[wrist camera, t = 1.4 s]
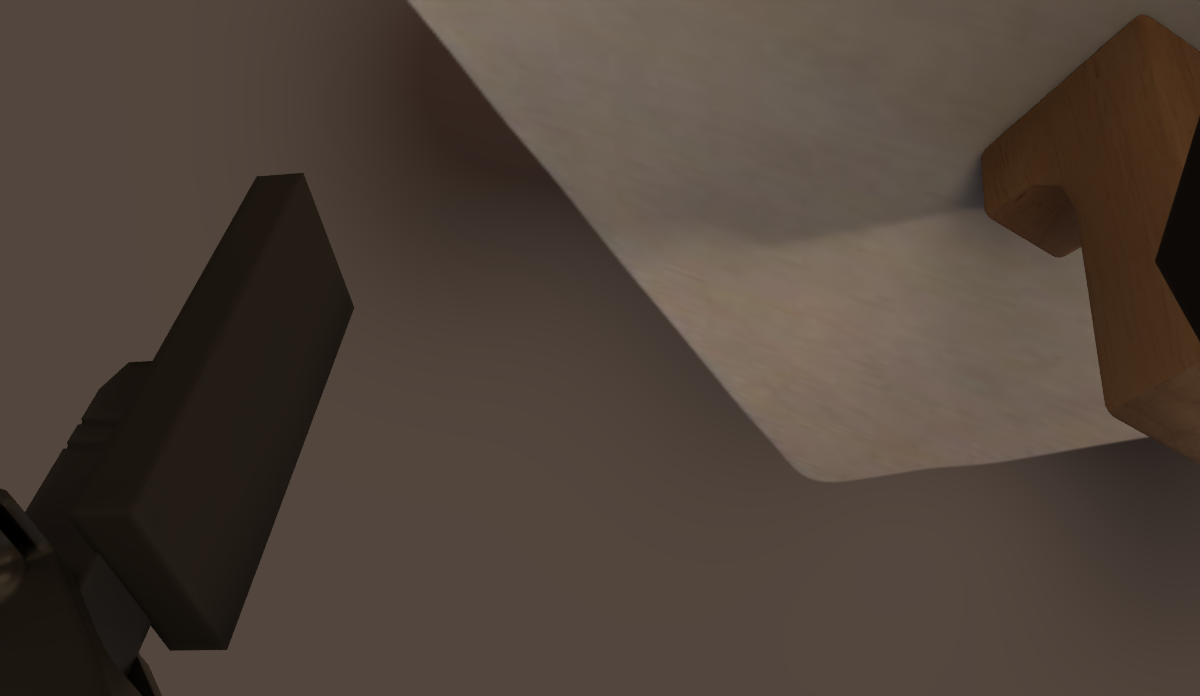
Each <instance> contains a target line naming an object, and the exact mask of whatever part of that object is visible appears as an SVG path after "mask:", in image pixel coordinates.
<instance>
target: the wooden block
mask: <svg viewBox="0 0 1200 696" xmlns="http://www.w3.org/2000/svg"><path fill="white" fill-rule="evenodd" d="M1199 116H1200V51H1198V50H1197V49H1196V48H1194V47H1193V46H1191V45H1190V44H1188V43H1187V42H1185V41H1184V40H1183V39H1181V38H1180V37H1178V36H1177V35H1175V34H1174V33H1172V32H1171V31H1170V30H1168V29H1167V28H1165V27H1164V26H1162V25H1161V24H1160V23H1158V22H1157V21H1155V20H1154V19H1152V18H1151V17H1149V16H1146V15H1140V16H1138V17H1136V18H1135V19H1134V20H1133V21H1131V22H1130V23H1129V24H1128V25H1127V26H1126V27H1125V28H1123V29H1122V30H1121V31H1120V32H1119V33H1118V34H1117V35H1115V36H1114V37H1113V38H1112V39H1111V40H1110V41H1109V42H1107V43H1106V44H1105V45H1104V46H1103V47H1102V48H1101V49H1099V50H1098V51H1097V52H1096V53H1095V54H1094V55H1093V56H1091V57H1090V58H1089V59H1088V60H1087V61H1086V62H1085V63H1083V64H1082V65H1081V66H1080V67H1079V68H1078V69H1077V70H1075V71H1074V72H1073V73H1072V74H1071V75H1070V76H1069V77H1068V78H1066V79H1065V80H1064V81H1063V82H1062V83H1061V84H1060V85H1058V86H1057V87H1056V88H1055V89H1054V90H1053V91H1052V92H1050V93H1049V94H1048V95H1047V96H1046V97H1045V98H1044V99H1042V100H1041V101H1040V102H1039V103H1038V104H1037V105H1036V106H1034V107H1033V108H1032V109H1031V110H1030V111H1029V112H1028V113H1026V114H1025V115H1024V116H1023V117H1022V118H1021V119H1020V120H1018V121H1017V122H1016V123H1015V124H1014V125H1013V126H1012V127H1010V128H1009V129H1008V130H1007V131H1006V132H1005V133H1004V134H1002V135H1001V136H1000V137H999V138H998V139H997V140H996V141H994V142H993V143H992V144H991V145H990V146H989V147H988V148H986V149H985V151H984V153H983V155H982V157H981V160H982V176H983V192H984V208H985V212H986V214H987V215H988V216H989V218H991V219H992V220H994V221H996V222H997V223H999V224H1001V225H1002V226H1004V227H1006V228H1007V229H1009V230H1011V231H1012V232H1014V233H1016V234H1017V235H1019V236H1021V237H1022V238H1024V239H1026V240H1027V241H1029V242H1031V243H1032V244H1034V245H1036V246H1037V247H1039V248H1041V249H1042V250H1044V251H1046V252H1047V253H1049V254H1051V255H1052V256H1054V257H1059V258H1060V257H1064V256H1066V255H1068V254H1070V253H1071V252H1073V251H1075V250H1077V249H1079V248H1081V247H1082V253H1083V260H1084V266H1085V273H1086V280H1087V286H1088V293H1089V300H1090V307H1091V313H1092V320H1093V327H1094V334H1095V340H1096V347H1097V354H1098V360H1099V367H1100V374H1101V381H1102V387H1103V394H1104V401H1105V406H1106V408H1107V410H1108V411H1109V412H1110V414H1111V415H1112V416H1113V417H1115V418H1117V419H1118V420H1120V421H1122V422H1124V423H1125V424H1127V425H1129V426H1131V427H1133V428H1134V429H1136V430H1138V431H1140V432H1142V433H1143V434H1145V435H1147V436H1149V437H1151V438H1152V439H1154V440H1156V441H1158V442H1160V443H1161V444H1163V445H1165V446H1167V447H1169V448H1170V449H1172V450H1174V451H1176V452H1178V453H1179V454H1181V455H1183V456H1185V457H1187V458H1188V459H1190V460H1192V461H1194V462H1195V463H1199V464H1200V342H1199V340H1198V338H1197V336H1196V335H1195V333H1194V331H1193V329H1192V327H1191V326H1190V324H1189V322H1188V320H1187V318H1186V317H1185V315H1184V313H1183V311H1182V310H1181V308H1180V306H1179V304H1178V302H1177V301H1176V299H1175V297H1174V295H1173V293H1172V292H1171V290H1170V288H1169V286H1168V284H1167V283H1166V281H1165V279H1164V277H1163V275H1162V274H1161V272H1160V270H1159V268H1158V267H1157V265H1156V263H1155V259H1156V256H1157V253H1158V249H1159V246H1160V243H1161V240H1162V236H1163V233H1164V230H1165V227H1166V223H1167V220H1168V217H1169V214H1170V210H1171V207H1172V204H1173V201H1174V197H1175V194H1176V191H1177V188H1178V184H1179V181H1180V178H1181V175H1182V171H1183V168H1184V165H1185V162H1186V158H1187V155H1188V152H1189V149H1190V145H1191V142H1192V139H1193V136H1194V132H1195V129H1196V126H1197V123H1198V120H1199Z"/></svg>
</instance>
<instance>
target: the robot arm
mask: <svg viewBox="0 0 1200 696" xmlns="http://www.w3.org/2000/svg"><path fill="white" fill-rule="evenodd" d="M1155 263H1156V265H1157V267H1158V268H1159V270H1160V272H1161V274H1162V275H1163V277H1164V279H1165V281H1166V283H1167V284H1168V286H1169V288H1170V290H1171V292H1172V293H1173V295H1174V297H1175V299H1176V301H1177V302H1178V304H1179V306H1180V308H1181V310H1182V311H1183V313H1184V315H1185V317H1186V318H1187V320H1188V322H1189V324H1190V326H1191V327H1192V329H1193V331H1194V333H1195V335H1196V336H1197V338H1198V340H1199V342H1200V116H1199V120H1198V123H1197V126H1196V129H1195V132H1194V136H1193V139H1192V142H1191V145H1190V149H1189V152H1188V155H1187V158H1186V162H1185V165H1184V168H1183V171H1182V175H1181V178H1180V181H1179V184H1178V188H1177V191H1176V194H1175V197H1174V201H1173V204H1172V207H1171V210H1170V214H1169V217H1168V220H1167V223H1166V227H1165V230H1164V233H1163V236H1162V240H1161V243H1160V246H1159V249H1158V253H1157V256H1156V259H1155ZM353 309H354V306H353V303H352V301H351V298H350V295H349V293H348V290H347V287H346V285H345V282H344V279H343V277H342V274H341V271H340V269H339V266H338V264H337V261H336V258H335V256H334V253H333V250H332V248H331V245H330V242H329V240H328V237H327V234H326V232H325V229H324V227H323V224H322V221H321V219H320V216H319V213H318V211H317V208H316V206H315V203H314V200H313V197H312V195H311V192H310V190H309V187H308V184H307V182H306V179H305V176H304V174H303V173H297V174H284V175H271V176H257V177H256V179H255V181H254V182H253V184H252V186H251V188H250V189H249V191H248V193H247V195H246V196H245V198H244V200H243V202H242V204H241V205H240V207H239V209H238V211H237V213H236V214H235V216H234V218H233V220H232V221H231V223H230V225H229V227H228V229H227V230H226V232H225V234H224V236H223V237H222V239H221V241H220V243H219V244H218V246H217V248H216V250H215V251H214V253H213V255H212V257H211V258H210V260H209V262H208V264H207V266H206V267H205V269H204V271H203V273H202V275H201V276H200V278H199V280H198V281H197V283H196V285H195V287H194V289H193V290H192V292H191V294H190V296H189V297H188V299H187V301H186V303H185V305H184V306H183V308H182V310H181V312H180V313H179V315H178V317H177V319H176V320H175V322H174V324H173V326H172V328H171V329H170V331H169V333H168V335H167V336H166V338H165V340H164V342H163V343H162V345H161V347H160V349H159V351H158V352H157V354H156V356H155V358H154V360H153V361H145V362H129V363H128V364H126V365H125V366H124V367H123V368H122V369H121V370H120V371H119V372H118V373H117V374H115V375H114V376H113V377H112V378H111V379H110V380H109V381H108V382H107V383H106V384H105V385H103V386H102V387H101V388H100V389H99V390H98V392H97V394H96V396H95V398H94V399H93V400H92V402H91V404H90V406H89V407H88V409H87V411H86V412H85V414H84V415H83V417H82V424H80V425H78V426H77V427H76V429H75V430H74V432H73V434H72V435H71V437H70V439H69V440H68V442H67V444H68V447H67V449H63V450H62V452H61V453H60V455H59V457H58V459H57V460H56V462H55V463H54V465H53V467H52V468H51V470H50V472H49V474H48V475H47V477H46V479H45V480H44V482H43V483H42V485H41V487H40V488H39V490H38V492H37V493H36V495H35V497H34V498H33V500H32V502H31V503H30V505H29V507H28V508H27V510H26V511H25V512H24V511H23V510H22V509H21V507H20V506H19V505H18V504H17V502H16V501H15V500H14V499H13V498H12V497H11V495H9V493H8V492H7V491H6V490H3V489H0V696H162V695H161V692H160V690H159V688H158V686H157V683H156V681H155V679H154V677H153V674H152V672H151V670H150V668H149V665H148V664H147V663H146V662H145V660H144V659H143V658H142V657H141V656H140V655H139V653H138V652H139V650H140V648H141V645H142V643H143V641H144V639H145V637H146V634H147V632H148V630H149V628H150V625H151V626H152V628H153V629H154V630H155V631H156V633H157V634H158V636H159V637H160V638H161V639H162V641H163V642H164V643H165V645H166V646H167V647H168V649H169V650H227V648H228V646H229V643H230V640H231V638H232V635H233V632H234V630H235V626H236V624H237V621H238V619H239V616H240V613H241V611H242V608H243V605H244V603H245V600H246V597H247V595H248V592H249V589H250V586H251V584H252V581H253V578H254V576H255V573H256V570H257V568H258V565H259V562H260V560H261V557H262V554H263V551H264V549H265V546H266V543H267V541H268V538H269V535H270V533H271V530H272V527H273V524H274V522H275V519H276V516H277V514H278V511H279V509H280V506H281V503H282V500H283V497H284V495H285V492H286V490H287V487H288V484H289V481H290V479H291V476H292V473H293V470H294V468H295V465H296V463H297V460H298V457H299V455H300V452H301V449H302V447H303V444H304V441H305V438H306V436H307V433H308V430H309V428H310V425H311V422H312V420H313V417H314V414H315V412H316V409H317V406H318V404H319V401H320V398H321V396H322V393H323V390H324V387H325V385H326V382H327V379H328V377H329V374H330V371H331V368H332V366H333V363H334V360H335V358H336V355H337V352H338V350H339V347H340V344H341V342H342V339H343V336H344V334H345V331H346V328H347V326H348V323H349V320H350V317H351V315H352V312H353Z"/></svg>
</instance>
